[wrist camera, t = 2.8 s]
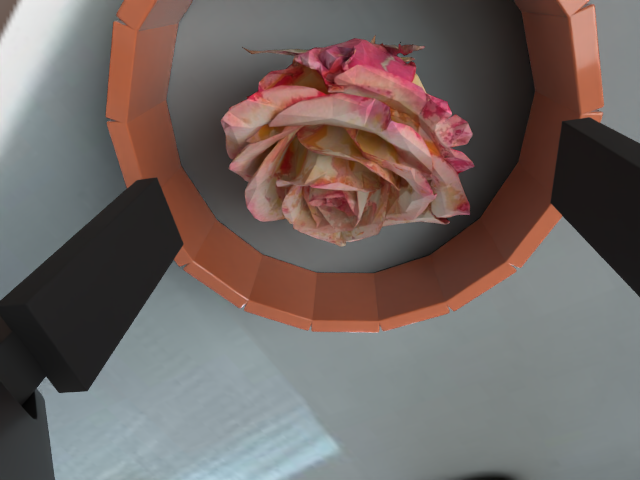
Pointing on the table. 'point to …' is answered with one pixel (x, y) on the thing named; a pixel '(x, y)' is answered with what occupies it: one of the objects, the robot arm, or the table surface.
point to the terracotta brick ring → (355, 288)
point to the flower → (348, 144)
